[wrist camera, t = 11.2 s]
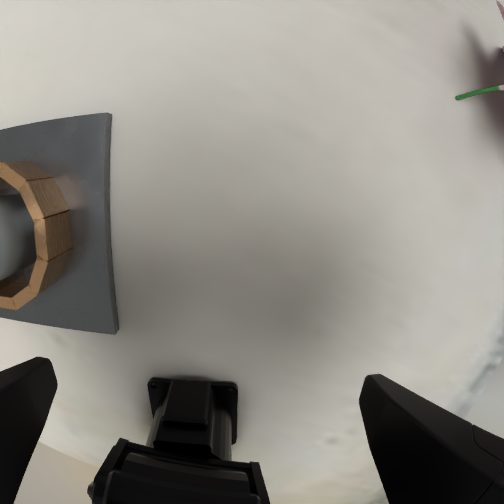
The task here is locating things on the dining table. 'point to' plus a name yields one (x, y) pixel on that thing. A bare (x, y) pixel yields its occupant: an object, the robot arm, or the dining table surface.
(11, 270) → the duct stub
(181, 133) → the dining table surface
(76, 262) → the duct collar
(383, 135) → the dining table surface
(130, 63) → the dining table surface
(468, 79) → the dining table surface
